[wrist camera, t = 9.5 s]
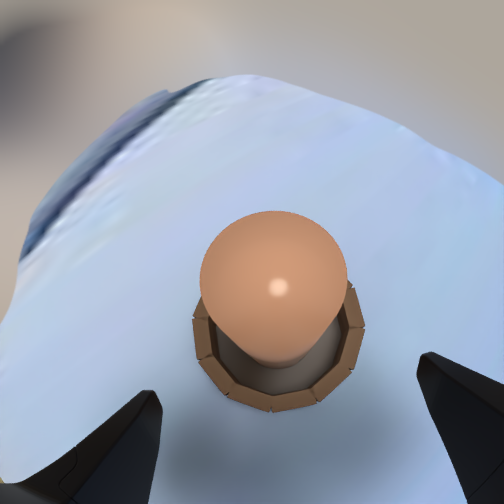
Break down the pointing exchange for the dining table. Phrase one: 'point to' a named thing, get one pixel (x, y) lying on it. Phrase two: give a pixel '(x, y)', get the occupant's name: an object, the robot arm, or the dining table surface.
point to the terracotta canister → (273, 285)
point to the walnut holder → (288, 379)
